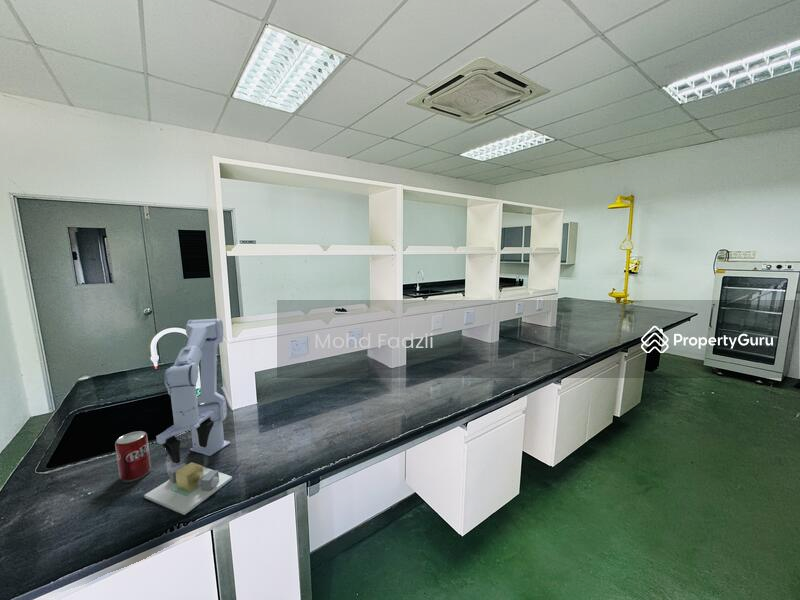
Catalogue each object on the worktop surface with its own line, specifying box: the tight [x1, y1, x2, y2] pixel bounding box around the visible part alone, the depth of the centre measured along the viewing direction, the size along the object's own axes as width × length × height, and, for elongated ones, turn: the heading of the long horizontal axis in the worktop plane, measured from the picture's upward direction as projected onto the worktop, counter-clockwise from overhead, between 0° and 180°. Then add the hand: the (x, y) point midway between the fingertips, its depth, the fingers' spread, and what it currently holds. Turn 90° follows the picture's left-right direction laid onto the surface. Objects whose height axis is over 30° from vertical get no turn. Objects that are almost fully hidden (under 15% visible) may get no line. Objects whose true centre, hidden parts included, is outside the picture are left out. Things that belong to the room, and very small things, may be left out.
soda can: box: [114, 430, 152, 483], centre depth 94 cm, size 7×7×12 cm
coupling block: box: [176, 461, 204, 493], centre depth 89 cm, size 4×4×5 cm
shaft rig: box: [143, 462, 233, 516], centre depth 89 cm, size 16×14×4 cm
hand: (190, 453), depth 89 cm, fingers open, 7 cm apart
